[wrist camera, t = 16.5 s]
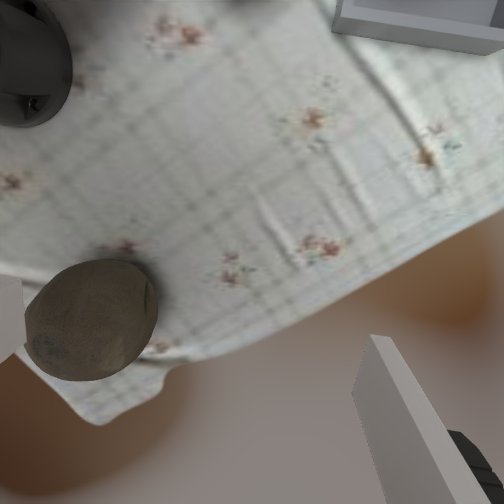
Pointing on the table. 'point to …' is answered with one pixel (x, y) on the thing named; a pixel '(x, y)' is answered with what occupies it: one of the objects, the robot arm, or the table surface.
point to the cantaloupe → (91, 320)
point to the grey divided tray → (426, 23)
